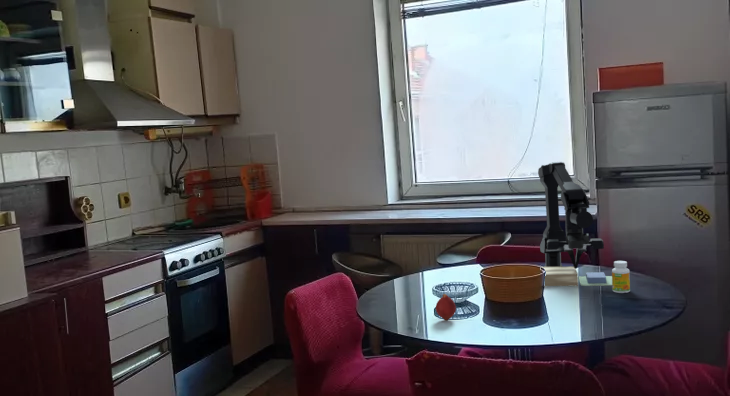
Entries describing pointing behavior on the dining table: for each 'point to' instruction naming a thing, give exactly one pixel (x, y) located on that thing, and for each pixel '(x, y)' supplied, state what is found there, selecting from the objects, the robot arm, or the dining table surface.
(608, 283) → the mat
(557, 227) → the robot arm
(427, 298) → the dining table surface
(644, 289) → the dining table surface
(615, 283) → the supplement bottle
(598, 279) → the periwinkle blue block
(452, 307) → the onion
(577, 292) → the dining table surface
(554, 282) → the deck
